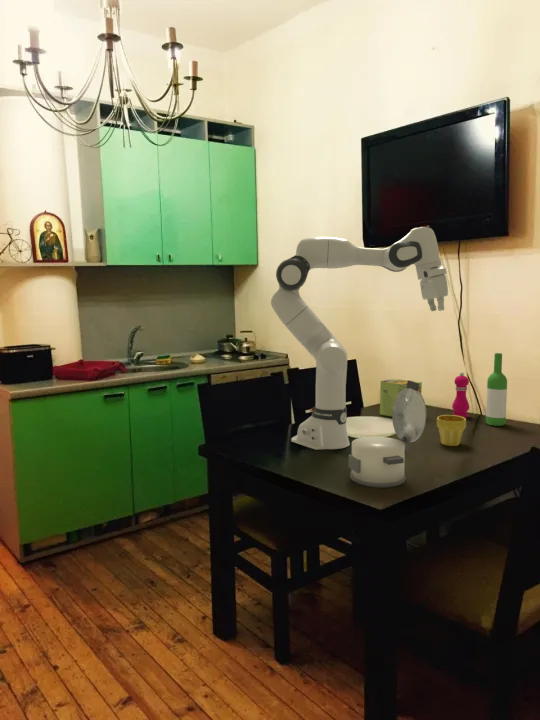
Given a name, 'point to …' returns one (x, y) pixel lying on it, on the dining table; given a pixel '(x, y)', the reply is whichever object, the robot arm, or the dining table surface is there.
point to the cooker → (378, 461)
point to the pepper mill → (461, 396)
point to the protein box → (391, 394)
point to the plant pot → (451, 429)
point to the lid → (409, 413)
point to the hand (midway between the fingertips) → (437, 310)
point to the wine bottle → (496, 394)
